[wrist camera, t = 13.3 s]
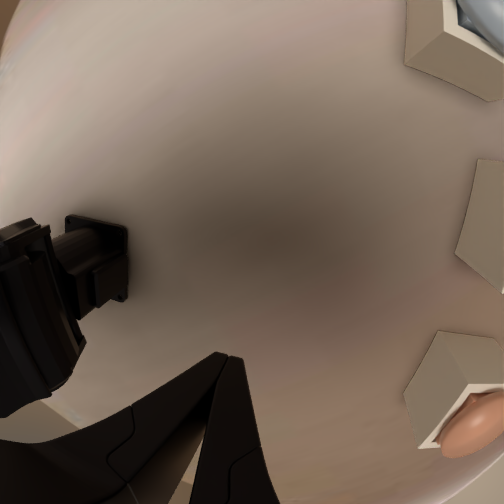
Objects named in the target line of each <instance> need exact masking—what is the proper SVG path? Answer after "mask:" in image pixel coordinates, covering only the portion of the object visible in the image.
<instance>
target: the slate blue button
mask: <svg viewBox="0 0 504 504" xmlns="http://www.w3.org/2000/svg"><path fill="white" fill-rule="evenodd" d="M456 5H457V19H458V25H459V26H461V27H462V28H464V29H466V30H468V31H470V32H472V33H474V34H476V35H478V36H479V37H481V38H483V39H485V40H486V41H488V42H490V43H491V44H492V45H493V46H495V47H496V48H497V49H498V50H500V51H501V52H502V53H504V0H456Z"/></svg>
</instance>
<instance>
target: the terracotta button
mask: <svg viewBox="0 0 504 504" xmlns="http://www.w3.org/2000/svg"><path fill="white" fill-rule="evenodd" d="M503 431H504V392H503V391H501V392H491V393H470V394H469V395H468V397H467V398H466V400H465V401H464V402H463V404H462V405H461V406H460V408H459V409H458V410H457V412H456V413H455V414H454V416H453V417H452V418H451V419H450V421H449V422H448V423H447V424H446V426H445V427H444V428H443V429H442V430H441V431H440V433H439V434H438V435H437V436H436V437H435V438H436V442H437V445H439V444H440V446H441V450H442V453H443V455H444V456H446V457H448V458H458V457H462V456H466V455H469V454H471V453H474V452H476V451H478V450H479V449H481V448H483V447H485V446H486V445H488V444H489V443H490V442H492V441H493V440H494V439H496V438H497V437H498V436H499V435H500V434H501V433H502V432H503Z"/></svg>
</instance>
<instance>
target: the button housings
mask: <svg viewBox="0 0 504 504" xmlns="http://www.w3.org/2000/svg"><path fill="white" fill-rule="evenodd" d="M404 65H406V66H409V67H412V68H415V69H417V70H420V71H423V72H425V73H428V74H430V75H433V76H435V77H437V78H440V79H442V80H444V81H447V82H449V83H451V84H453V85H455V86H458V87H460V88H462V89H464V90H466V91H468V92H470V93H472V94H474V95H476V96H478V97H480V98H481V99H483V100H485V101H487V102H491V101H496V100H501V99H504V53H502V52H501V51H500V50H498V49H497V48H496V47H495V46H493V45H492V44H491V43H490V42H488V41H486V40H485V39H483V38H481V37H479V36H478V35H476V34H474V33H472V32H470V31H468V30H466V29H464V28H462V27H461V26H459V25H458V19H457V5H456V0H407V22H406V44H405V58H404ZM454 254H455V255H457V256H458V257H459V258H460V259H462V260H463V261H464V262H465V263H467V264H468V265H469V266H470V267H471V268H473V269H474V270H475V271H476V272H477V273H479V274H480V275H481V276H482V277H483V278H484V279H486V280H487V281H488V282H489V283H490V284H491V285H492V286H494V287H495V288H496V289H497V290H498V291H499V292H500V293H502V294H504V162H501V161H493V160H485V159H478V161H477V167H476V172H475V178H474V183H473V187H472V192H471V196H470V200H469V205H468V209H467V212H466V216H465V220H464V224H463V227H462V231H461V234H460V237H459V241H458V244H457V247H456V250H455V253H454ZM501 391H503V392H504V351H503V350H502V348H501V347H500V346H499V344H498V343H497V342H496V340H495V339H494V338H488V337H480V336H473V335H465V334H458V333H451V332H444V331H438V332H437V334H436V336H435V338H434V340H433V342H432V343H431V345H430V347H429V349H428V351H427V353H426V355H425V357H424V359H423V360H422V362H421V364H420V366H419V367H418V369H417V371H416V373H415V374H414V376H413V378H412V379H411V381H410V383H409V384H408V386H407V388H406V389H405V391H404V392H403V396H404V399H405V403H406V406H407V410H408V413H409V417H410V421H411V424H412V428H413V432H414V436H415V440H416V444H417V448H418V449H421V448H438V447H441V446H440V444H439V445H437V442H436V438H435V437H436V436H437V435H438V434H439V433H440V431H441V430H442V429H443V428H444V427H445V426H446V424H447V423H448V422H449V421H450V419H451V418H452V417H453V416H454V414H455V413H456V412H457V410H458V409H459V408H460V406H461V405H462V404H463V402H464V401H465V400H466V398H467V397H468V395H469V394H470V393H491V392H501Z"/></svg>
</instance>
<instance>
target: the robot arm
mask: <svg viewBox="0 0 504 504" xmlns="http://www.w3.org/2000/svg"><path fill="white" fill-rule="evenodd" d="M70 221H71V222H70ZM119 230H120V231H121V233H122V235H120V233H119ZM50 233H51V230H50V225H44V226H41V225H40V224H39V225H38V224H36V222H35V221H34V220H33V219H32V218H28V219H25V220H22V221H19V222H16V223H14V224H11V225H9V226H6V227H4V228H2V229H0V418H6V417H8V416H9V415H10V414H12V413H14V412H15V411H17V410H18V409H20V408H21V407H23V406H25V405H27V404H29V403H31V402H34V401H36V400H40V399H44V398H48V397H51V396H52V393H51V392H53V391H55V390H57V389H59V388H60V387H61V386H63V385H64V384H65V383H66V382H67V380H68V379H69V377H70V376H71V375H72V373H73V369H74V367H75V365H76V363H77V361H78V359H79V357H80V355H81V353H82V351H83V349H84V347H85V345H86V343H87V342H86V339H85V337H84V335H82V333H81V330H80V328H79V325H78V323H77V320H81V319H82V318H83V317H85V316H86V315H87V314H88V313H89V312H91V311H92V310H93V309H94V308H95V307H96V308H100V307H101V306H102V305H104V304H105V303H106V302H107V301H108V300H110V299H112V300H115V301H118V302H124V301H125V300H126V299H127V285H128V257H127V230H126V228H125V227H124V226H121V225H117V224H112V223H108V222H103V221H98V220H94V219H89V218H85V217H80V216H76V215H68V216H66V217H65V234H63V235H60V236H58V237H56V238H53V239H51V236H50ZM120 295H121V296H122V297H121V296H120ZM76 319H77V320H76ZM203 437H204V438H203ZM202 439H203V443H202V447H201V452H200V456H199V461H198V465H197V470H196V474H195V479H194V483H193V488H192V492H191V497H190V501H189V504H280V502H279V500H278V497H277V495H276V493H275V490H274V488H273V485H272V482H271V480H270V477H269V474H268V470H267V467H266V463H265V459H264V455H263V451H262V447H261V442H260V438H259V433H258V428H257V424H256V419H255V414H254V410H253V405H252V400H251V395H250V390H249V385H248V380H247V375H246V370H245V365H244V360H243V359H242V358H239V357H235V356H228V355H227V354H224V353H220V352H214V353H212V354H211V355H209V356H208V357H206V358H205V359H203V360H201V361H200V362H198V363H197V364H195V365H194V366H192V367H191V368H189V369H188V370H186V371H185V372H183V373H181V374H180V375H178V376H177V377H175V378H174V379H172V380H170V381H169V382H167V383H166V384H164V385H163V386H161V387H159V388H158V389H156V390H154V391H153V392H151V393H150V394H148V395H146V396H145V397H143V398H141V399H140V400H138V401H136V402H135V403H133V404H132V405H131V406H128V407H126V408H124V409H123V410H121V411H119V412H117V413H115V414H113V415H112V416H110V417H108V418H106V419H104V420H102V421H99V422H97V423H95V424H93V425H90V426H88V427H85V428H83V429H80V430H78V431H75V432H72V433H70V434H67V435H64V436H61V437H59V438H56V439H53V440H50V441H47V442H42V443H33V444H32V443H30V444H28V443H19V442H12V441H7V440H1V439H0V504H168V503H169V501H170V499H171V497H172V495H173V494H174V492H175V490H176V488H177V486H178V484H179V483H180V481H181V479H182V477H183V475H184V473H185V471H186V469H187V468H188V466H189V464H190V462H191V460H192V458H193V456H194V454H195V452H196V450H197V448H198V446H199V445H200V443H201V441H202Z"/></svg>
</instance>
